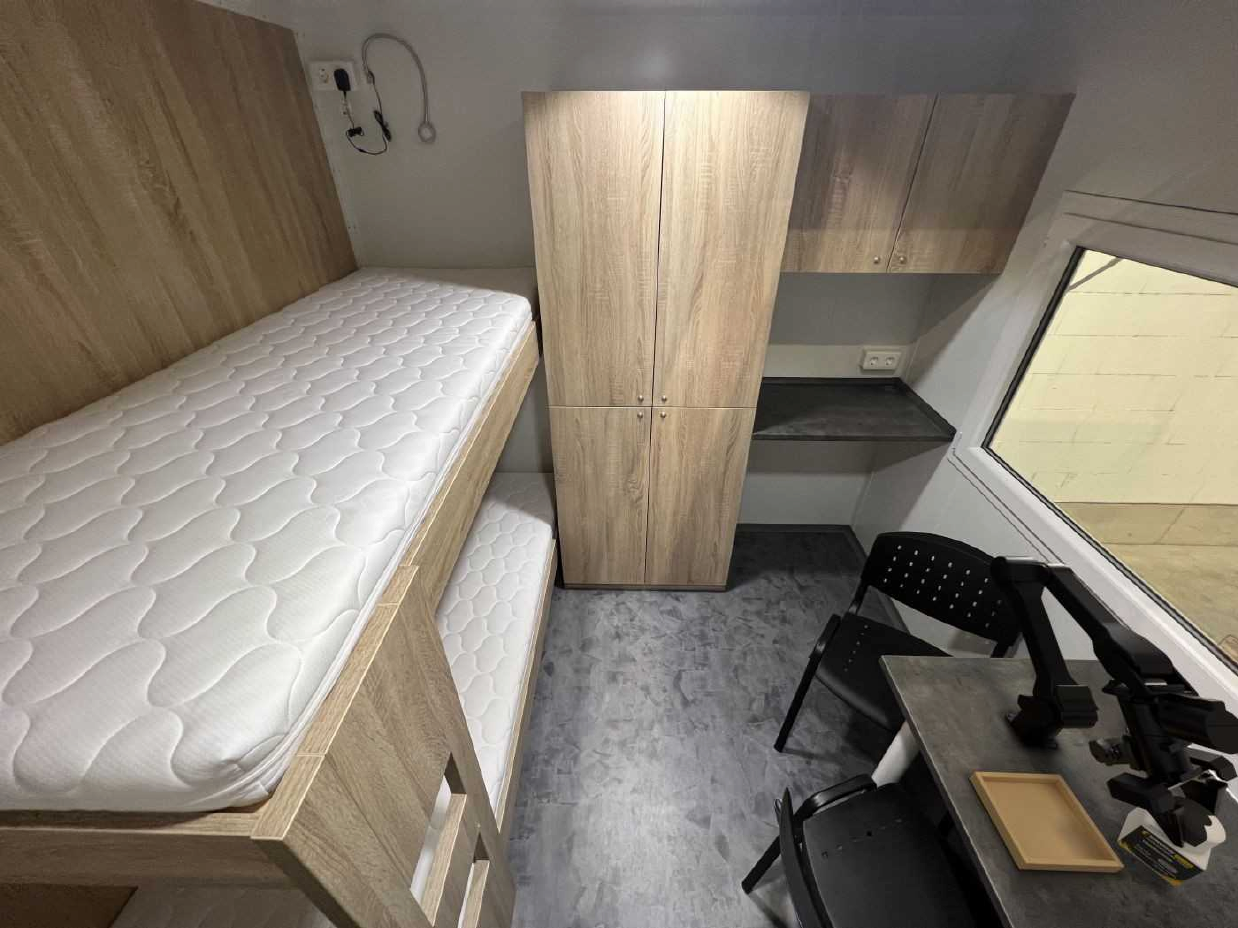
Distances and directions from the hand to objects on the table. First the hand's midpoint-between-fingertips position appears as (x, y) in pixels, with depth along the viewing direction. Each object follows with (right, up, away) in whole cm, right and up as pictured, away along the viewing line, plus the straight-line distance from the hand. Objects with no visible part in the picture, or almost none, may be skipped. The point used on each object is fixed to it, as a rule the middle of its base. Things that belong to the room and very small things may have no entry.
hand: (1193, 838), depth 73 cm
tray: (-15, -5, +10) cm, 19 cm away
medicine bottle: (-1, -6, +5) cm, 8 cm away
